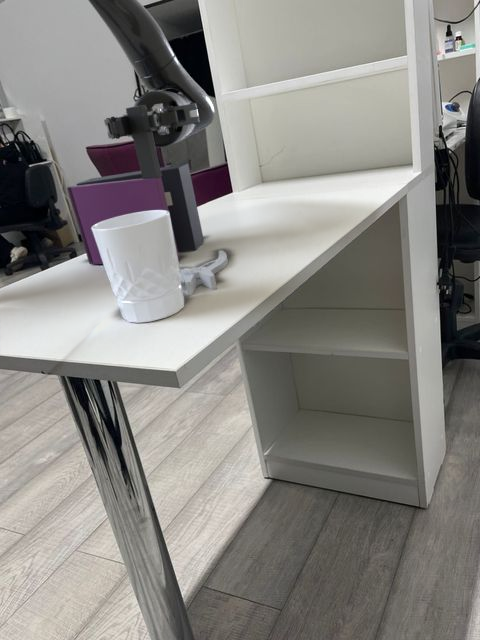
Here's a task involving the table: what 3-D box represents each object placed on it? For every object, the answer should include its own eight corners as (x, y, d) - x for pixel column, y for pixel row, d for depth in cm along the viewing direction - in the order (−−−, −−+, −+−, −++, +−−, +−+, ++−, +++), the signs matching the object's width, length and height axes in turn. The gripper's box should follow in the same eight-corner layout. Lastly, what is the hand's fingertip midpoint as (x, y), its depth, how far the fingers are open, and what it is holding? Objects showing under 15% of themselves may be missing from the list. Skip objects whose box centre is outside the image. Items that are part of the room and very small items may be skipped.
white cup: (202, 307, 57) (181, 212, 53) (132, 332, 54) (104, 232, 50) (173, 293, 63) (152, 207, 59) (108, 314, 60) (82, 225, 56)
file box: (99, 262, 85) (76, 183, 80) (111, 253, 89) (90, 178, 84) (196, 250, 81) (178, 167, 76) (204, 241, 86) (188, 163, 81)
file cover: (87, 264, 84) (45, 124, 75) (93, 261, 85) (52, 123, 76) (176, 263, 75) (139, 105, 67) (181, 261, 76) (146, 104, 68)
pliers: (222, 243, 76) (241, 269, 62) (224, 254, 76) (244, 282, 63) (152, 258, 74) (156, 288, 61) (155, 269, 75) (160, 301, 61)
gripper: (113, 99, 81) (69, 101, 65) (204, 82, 79) (182, 80, 64) (126, 152, 84) (88, 165, 68) (214, 137, 82) (195, 147, 67)
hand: (133, 124), depth 66 cm, fingers closed on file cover, 2 cm apart
